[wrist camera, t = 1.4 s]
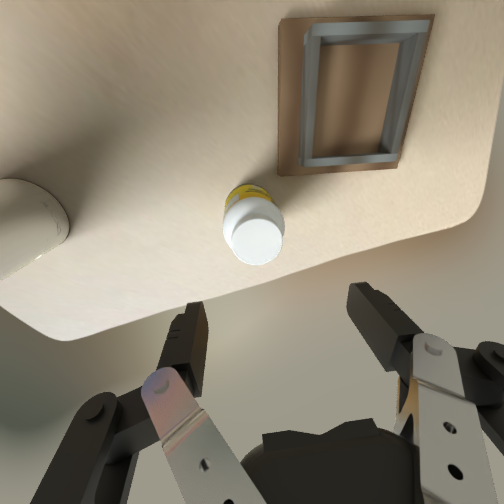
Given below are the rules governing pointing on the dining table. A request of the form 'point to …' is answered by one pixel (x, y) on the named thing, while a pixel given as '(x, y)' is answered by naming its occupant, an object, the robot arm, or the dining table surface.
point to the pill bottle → (253, 225)
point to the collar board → (347, 90)
